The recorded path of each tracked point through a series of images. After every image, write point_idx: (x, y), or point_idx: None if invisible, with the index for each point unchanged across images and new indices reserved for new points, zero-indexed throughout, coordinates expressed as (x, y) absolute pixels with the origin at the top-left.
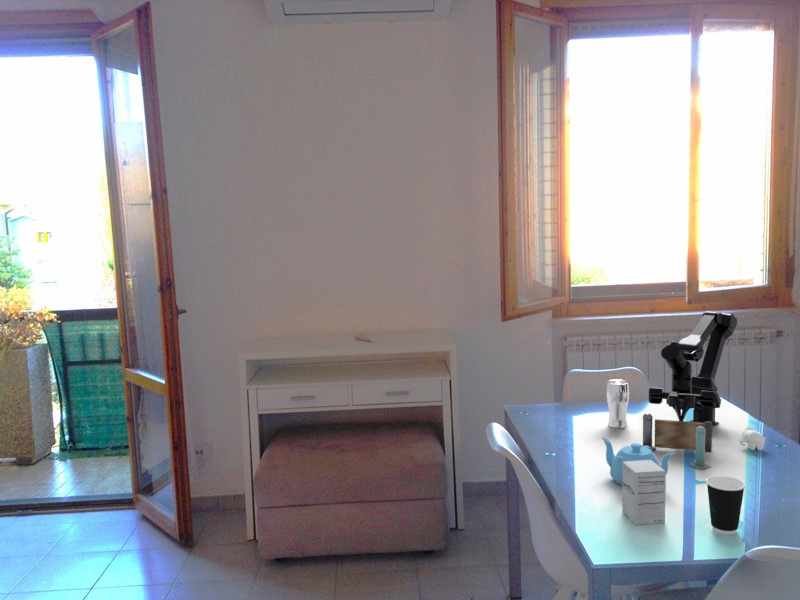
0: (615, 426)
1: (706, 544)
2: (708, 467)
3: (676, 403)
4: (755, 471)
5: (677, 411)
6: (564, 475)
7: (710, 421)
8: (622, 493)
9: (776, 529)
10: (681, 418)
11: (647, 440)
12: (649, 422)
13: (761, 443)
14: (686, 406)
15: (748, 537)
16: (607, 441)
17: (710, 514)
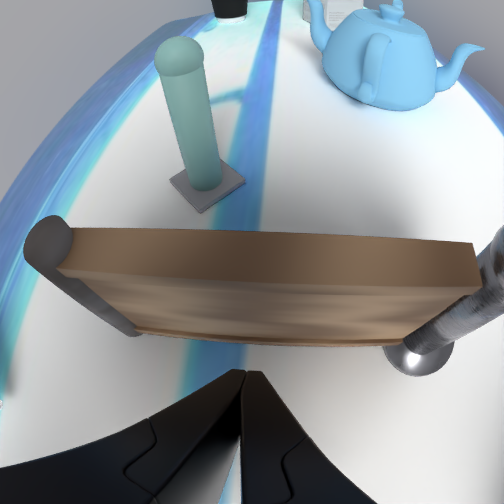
0: None
1: (257, 8)
2: (181, 174)
3: (327, 497)
4: (61, 188)
5: (292, 419)
6: (495, 113)
7: (25, 256)
8: (362, 6)
9: (166, 32)
10: (241, 379)
11: None
12: (490, 243)
13: None
14: (118, 440)
15: (208, 18)
16: (466, 43)
17: (247, 1)
